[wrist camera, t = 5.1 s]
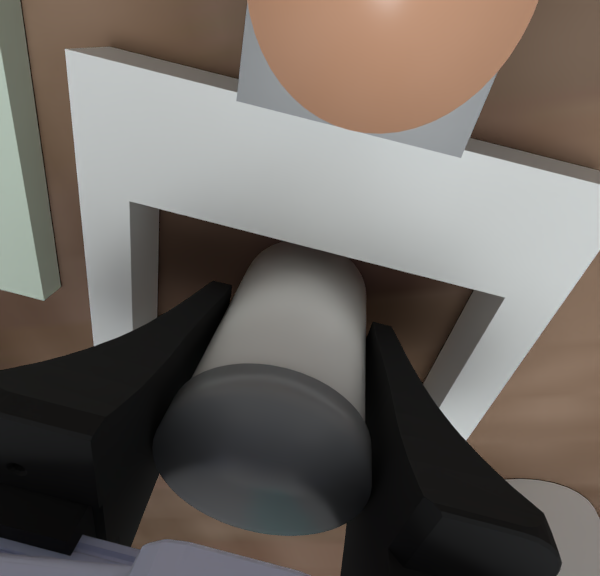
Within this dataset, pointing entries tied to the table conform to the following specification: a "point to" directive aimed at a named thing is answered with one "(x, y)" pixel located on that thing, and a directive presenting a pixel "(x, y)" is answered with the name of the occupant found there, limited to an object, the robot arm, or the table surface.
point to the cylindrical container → (567, 524)
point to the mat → (22, 172)
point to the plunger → (386, 55)
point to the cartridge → (277, 401)
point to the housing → (326, 202)
